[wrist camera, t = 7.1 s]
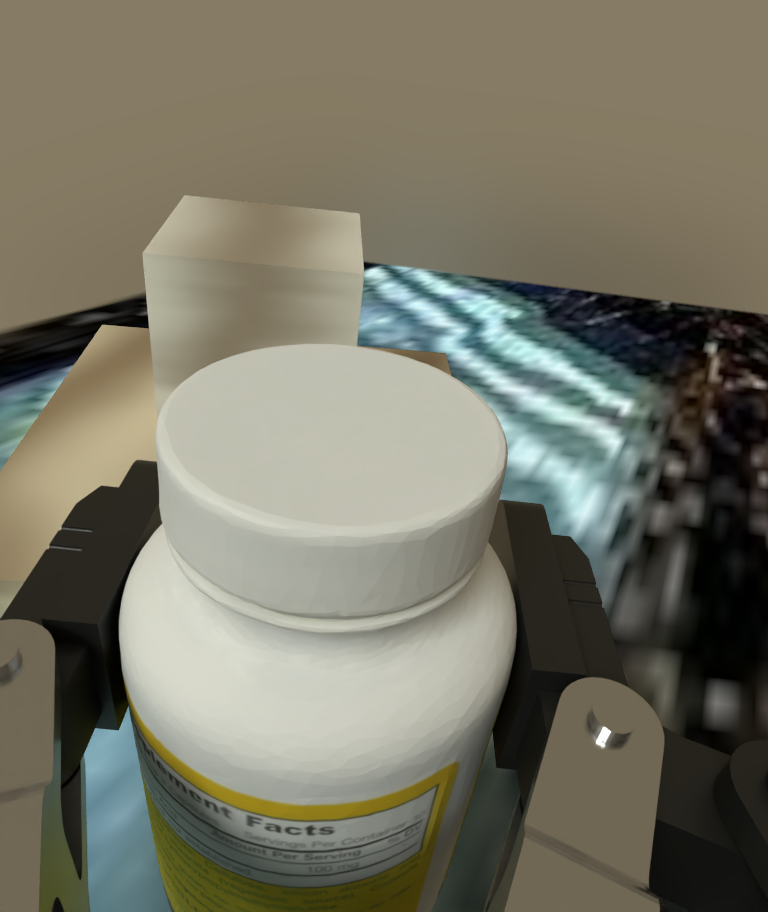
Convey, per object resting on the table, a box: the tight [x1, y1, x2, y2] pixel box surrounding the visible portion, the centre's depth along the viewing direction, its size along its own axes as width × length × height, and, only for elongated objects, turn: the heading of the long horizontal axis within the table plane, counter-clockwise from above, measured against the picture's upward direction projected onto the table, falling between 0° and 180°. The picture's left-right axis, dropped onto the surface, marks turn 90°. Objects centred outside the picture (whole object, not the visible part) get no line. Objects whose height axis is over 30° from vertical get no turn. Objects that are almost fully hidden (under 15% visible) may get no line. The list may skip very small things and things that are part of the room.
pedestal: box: [0, 195, 452, 618], centre depth 23 cm, size 16×16×9 cm
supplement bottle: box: [119, 344, 517, 912], centre depth 10 cm, size 5×5×10 cm
